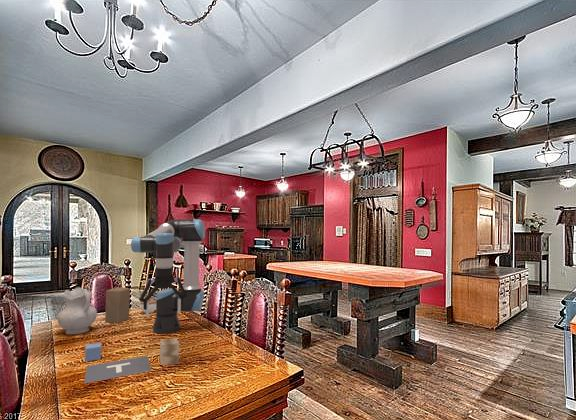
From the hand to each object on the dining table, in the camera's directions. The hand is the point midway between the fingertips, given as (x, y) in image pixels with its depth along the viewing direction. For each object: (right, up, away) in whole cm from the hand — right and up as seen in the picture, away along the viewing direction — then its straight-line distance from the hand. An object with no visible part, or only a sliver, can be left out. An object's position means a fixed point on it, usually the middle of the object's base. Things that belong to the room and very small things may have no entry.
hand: (163, 315), depth 149 cm
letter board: (-15, -20, -9) cm, 27 cm away
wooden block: (-54, -24, +64) cm, 87 cm away
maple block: (+3, -21, -2) cm, 21 cm away
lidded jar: (-42, -25, +85) cm, 98 cm away
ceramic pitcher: (-64, -23, +41) cm, 80 cm away
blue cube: (-33, -21, +2) cm, 39 cm away
